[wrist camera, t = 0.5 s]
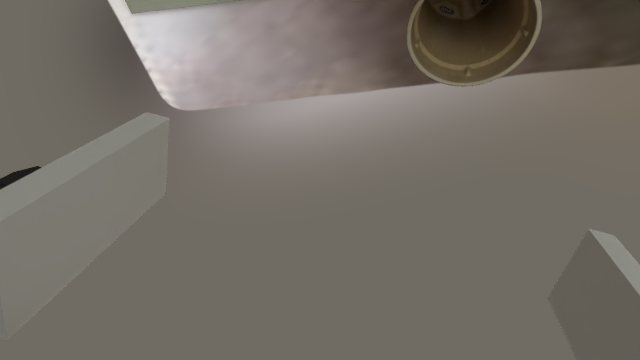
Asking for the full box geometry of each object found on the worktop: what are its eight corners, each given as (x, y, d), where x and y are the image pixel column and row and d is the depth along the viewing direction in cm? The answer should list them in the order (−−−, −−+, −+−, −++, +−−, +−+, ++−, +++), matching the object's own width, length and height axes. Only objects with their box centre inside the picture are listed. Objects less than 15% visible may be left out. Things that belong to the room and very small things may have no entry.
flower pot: (413, -76, 35) (413, -35, 29) (536, -77, 33) (562, -34, 28) (403, 33, 41) (401, 84, 36) (504, 35, 40) (520, 89, 34)
